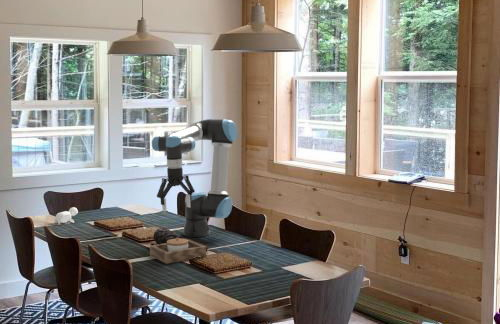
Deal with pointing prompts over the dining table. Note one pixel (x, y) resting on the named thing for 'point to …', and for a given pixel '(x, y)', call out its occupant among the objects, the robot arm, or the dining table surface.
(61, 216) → the white animal figurine
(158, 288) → the dining table surface
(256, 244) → the dining table surface
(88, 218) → the dining table surface
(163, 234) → the pine cone
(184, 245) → the lidded jar
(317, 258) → the dining table surface
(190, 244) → the wooden tray
